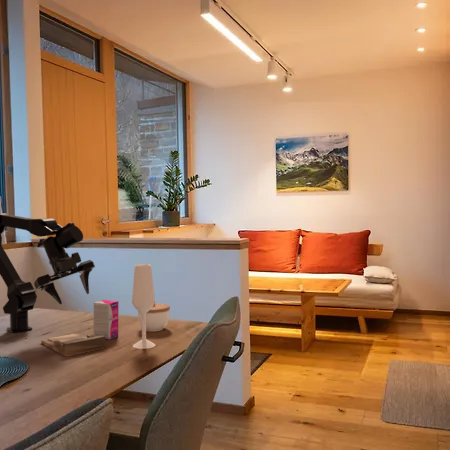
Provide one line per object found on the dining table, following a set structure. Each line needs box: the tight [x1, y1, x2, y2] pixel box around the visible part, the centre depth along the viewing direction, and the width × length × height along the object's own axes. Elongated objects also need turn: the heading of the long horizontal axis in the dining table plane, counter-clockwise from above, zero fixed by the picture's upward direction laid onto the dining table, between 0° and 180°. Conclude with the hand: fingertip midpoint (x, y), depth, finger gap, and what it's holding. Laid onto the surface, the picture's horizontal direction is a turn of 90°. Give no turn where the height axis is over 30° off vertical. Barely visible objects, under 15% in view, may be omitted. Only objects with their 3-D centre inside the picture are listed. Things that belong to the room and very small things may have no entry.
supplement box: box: [92, 299, 120, 341], centre depth 164 cm, size 6×6×12 cm
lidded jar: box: [137, 302, 171, 333], centre depth 174 cm, size 11×11×9 cm
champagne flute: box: [131, 263, 156, 350], centre depth 154 cm, size 7×7×24 cm
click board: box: [40, 333, 106, 357], centre depth 155 cm, size 18×12×4 cm, turn 40°
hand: (74, 298), depth 167 cm, fingers open, 9 cm apart
